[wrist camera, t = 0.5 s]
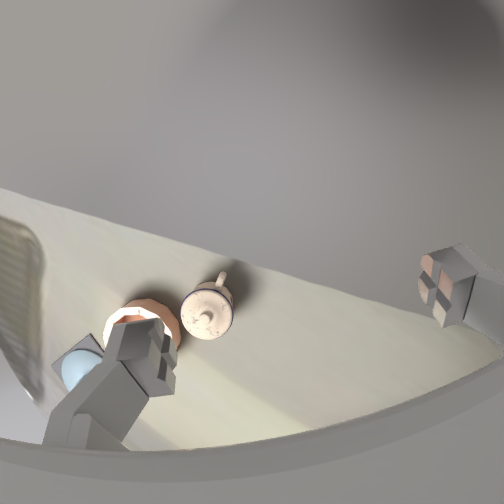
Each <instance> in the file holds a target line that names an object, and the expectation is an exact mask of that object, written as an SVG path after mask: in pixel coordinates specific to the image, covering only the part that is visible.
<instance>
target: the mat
mask: <svg viewBox="0 0 504 504" xmlns="http://www.w3.org/2000/svg"><path fill="white" fill-rule="evenodd" d="M78 349H85V350H90V351H93V352H95V353H97V354H98V355H100V356H101V357H103V355H104V351H103V350H102V349H101V347H100V346H99V345H98V343H97V342H96V341H95V339H94V338H93V337H92V335H91V334H89V335H88V336H87V337H86V338H84V339H83V340H82V341H81V342H79V343H78V344H77V345H76V346H75V347H73V348H72V349H71V350H70V351H68V352H67V353H66V354H65V355H64V356H62V357H61V358H60V359H59V360H57V361H56V362H55V363H54V364H53V365H51V367H52V368H53V370H54V371H55V372H56V374H57V375H58V376H59V377H60V379H61V380H62V381H63V377H62V370H61V368H62V363H63V360H64V359H65V357H66V356H67V355H68V354H69V353H71V352H72V351H75V350H78ZM63 383H64V381H63ZM64 384H65V383H64Z"/></svg>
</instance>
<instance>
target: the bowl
mask: <svg viewBox="0 0 504 504" xmlns="http://www.w3.org/2000/svg"><path fill="white" fill-rule="evenodd" d="M156 317H158V318H161V320H162V322H163V323H164V325H165V331H164V333H166V334H167V335H169V336H171V338H172V340H173V342H174V344H175V347H176V351H177V348H178V346H179V343H180V341H181V334H180V328H179V322H178V320H177V319H176V317H175V316H174V315H173V314H172V312H171V311H170V310H169V308H168V307H167V306H165V305H163V304H161V303H159V302H157V301H155V300H152V299H138V300H132V301H131V302H129V303H128V304H126V305H125V306H123V307H122V308H121V309H119V310H118V311H117V312H116V313H114V314H113V315H112V316H111V317H109V318H108V320H107V323H106V326H105V329H104V333H103V338H104V343H105V347H106V345H107V342H108V339H109V335H110V332H111V329H112V327H113V326H114V325H115V324H119V323H126V322H131V321H137V320H144V319H150V318H156Z"/></svg>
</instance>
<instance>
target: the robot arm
mask: <svg viewBox="0 0 504 504" xmlns="http://www.w3.org/2000/svg"><path fill="white" fill-rule="evenodd" d="M421 267H422V268H423V269H424V271H423V273H422V274H421V276H420V277H419V291H420V295H421V297H422V300H423V301H424V303H425V304H426V305H427V306H429V307H432V308H433V316H434V317H435V318H436V320H437V321H438V323H439V324H440V326H441V327H442V328H445V327H447V326H450V325H453V324H455V323H458V322H461V321H463V320H464V321H463V322H464V323H466V324H468V325H469V326H471V327H473V328H474V329H476V330H478V331H479V332H481V333H482V334H484V335H486V336H487V337H489V338H491V339H493V340H494V341H495V342H497V343H499V344H500V345H502V346H504V272H503V271H500V270H497V269H490V268H489V267H488V266H487V265H486V264H485V263H484V262H483V261H482V260H481V259H480V258H478V256H477V255H475V253H473V252H472V251H471V250H470V249H469V248H468V247H467V246H466V245H465V244H463V243H459V244H456V245H453V246H450V247H448V248H444V249H441V250H438V251H434V252H431V253H428V254H425V255H423V257H422V260H421ZM164 331H165V325H164V323H163V322H162V320H161V318H158V317H156V318H150V319H144V320H137V321H131V322H126V323H119V324H115V325H114V326H113V327H112V329H111V332H110V335H109V339H108V342H107V345H106V348H105V351H104V355H103V358H102V362H101V363H99V364H96V365H95V366H94V367H93V368H92V369H91V371H90V372H89V373H88V374H87V375H86V376H85V377H84V378H83V379H82V380H81V381H80V382H79V383H78V384H77V385H76V386H75V387H74V388H73V389H72V390H71V391H70V392H69V394H68V395H67V396H66V397H65V398H64V399H63V400H62V401H61V402H60V403H59V404H58V405H57V406H56V407H55V408H54V409H53V411H52V412H51V415H50V418H49V422H48V425H47V428H46V432H45V436H44V439H43V443H42V445H40V444H32V443H27V442H21V441H16V440H10V439H5V438H0V504H504V351H503V354H502V355H501V357H500V359H498V360H496V361H494V362H492V363H491V364H489V365H487V366H485V367H483V368H481V369H479V370H477V371H475V372H473V373H471V374H469V375H467V376H465V377H463V378H461V379H459V380H456V381H454V382H452V383H450V384H448V385H445V386H443V387H441V388H439V389H436V390H434V391H431V392H429V393H427V394H424V395H422V396H419V397H417V398H414V399H411V400H409V401H406V402H404V403H401V404H398V405H395V406H392V407H390V408H387V409H384V410H381V411H378V412H375V413H372V414H368V415H365V416H362V417H359V418H355V419H352V420H348V421H345V422H341V423H338V424H334V425H330V426H326V427H322V428H318V429H314V430H310V431H306V432H301V433H297V434H292V435H287V436H282V437H277V438H271V439H266V440H260V441H254V442H247V443H240V444H233V445H225V446H216V447H207V448H195V449H182V450H162V451H131V450H130V449H129V448H127V447H126V446H125V445H124V444H123V443H121V442H122V441H123V439H124V437H125V436H126V434H127V433H128V431H129V430H130V428H131V427H132V425H133V424H134V422H135V420H136V419H137V417H138V416H139V414H140V413H141V411H142V410H143V408H144V407H145V405H146V404H147V402H148V400H149V398H150V397H158V396H165V395H173V394H174V391H175V379H176V376H175V375H174V373H173V372H172V370H173V369H174V368H175V367H176V366H177V352H176V347H175V344H174V342H173V340H172V338H171V336H169V335H167V334H166V333H164Z"/></svg>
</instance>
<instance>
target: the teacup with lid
mask: <svg viewBox="0 0 504 504" xmlns="http://www.w3.org/2000/svg"><path fill="white" fill-rule="evenodd" d="M226 276H227V273H226V272H223V271H222V272H220V274H219V276H218V279H217V281H216V282H205V283H202V284H200V285H198V286H197V287H196V288H195V289H194V290H193V291H192V293H190V294H189V295H188V296H187V297H186V298H185V299H184V301H183V303H182V306H181V311H180V314H181V320H182V323H183V325H184V327H185V328H186V329H187V331H188V332H189V333H191V334H192V335H193V336H195V337H197V338H200V339H206V340H210V339H215V338H218V337H220V336H222V335H224V334H225V333H226V332H227V331H228V330H229V328H230V326H231V324H232V321H233V298H232V295H231V293H230V292H229V290H228V289H227V288H226V287H224V286H223V283H224V281H225V278H226Z"/></svg>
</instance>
